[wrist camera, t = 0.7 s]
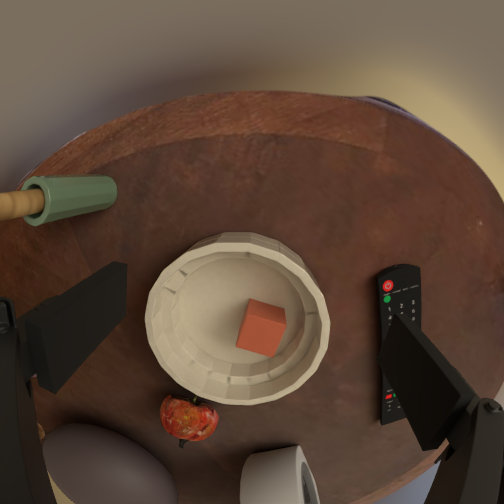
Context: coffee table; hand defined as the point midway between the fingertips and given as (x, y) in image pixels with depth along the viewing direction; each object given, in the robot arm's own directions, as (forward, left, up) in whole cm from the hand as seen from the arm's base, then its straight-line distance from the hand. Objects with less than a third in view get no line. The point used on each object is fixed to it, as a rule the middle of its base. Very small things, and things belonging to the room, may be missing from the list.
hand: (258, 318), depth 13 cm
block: (+8, +2, -18) cm, 19 cm away
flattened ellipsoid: (+44, -12, -18) cm, 49 cm away
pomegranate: (+23, -2, -18) cm, 30 cm away
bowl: (+8, 0, -18) cm, 20 cm away
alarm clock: (+35, +16, -18) cm, 43 cm away
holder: (0, -19, -18) cm, 26 cm away
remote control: (+8, +21, -18) cm, 29 cm away
